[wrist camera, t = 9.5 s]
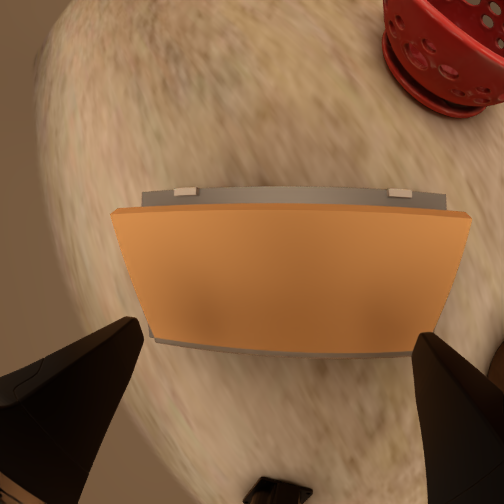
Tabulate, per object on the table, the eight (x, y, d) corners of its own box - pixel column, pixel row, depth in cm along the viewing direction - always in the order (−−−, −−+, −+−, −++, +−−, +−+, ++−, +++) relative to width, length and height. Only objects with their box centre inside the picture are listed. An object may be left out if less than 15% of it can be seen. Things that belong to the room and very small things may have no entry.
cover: (417, 347, 17) (420, 358, 16) (162, 335, 21) (157, 345, 20) (464, 211, 12) (473, 219, 11) (118, 207, 15) (109, 215, 14)
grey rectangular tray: (415, 335, 21) (435, 355, 16) (168, 324, 24) (142, 341, 20) (424, 200, 20) (449, 193, 15) (166, 197, 24) (137, 191, 19)
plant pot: (415, 8, 18) (443, -63, 6) (501, 97, 17) (564, 51, 5) (338, 49, 20) (347, -48, 8) (440, 157, 19) (525, 110, 7)
